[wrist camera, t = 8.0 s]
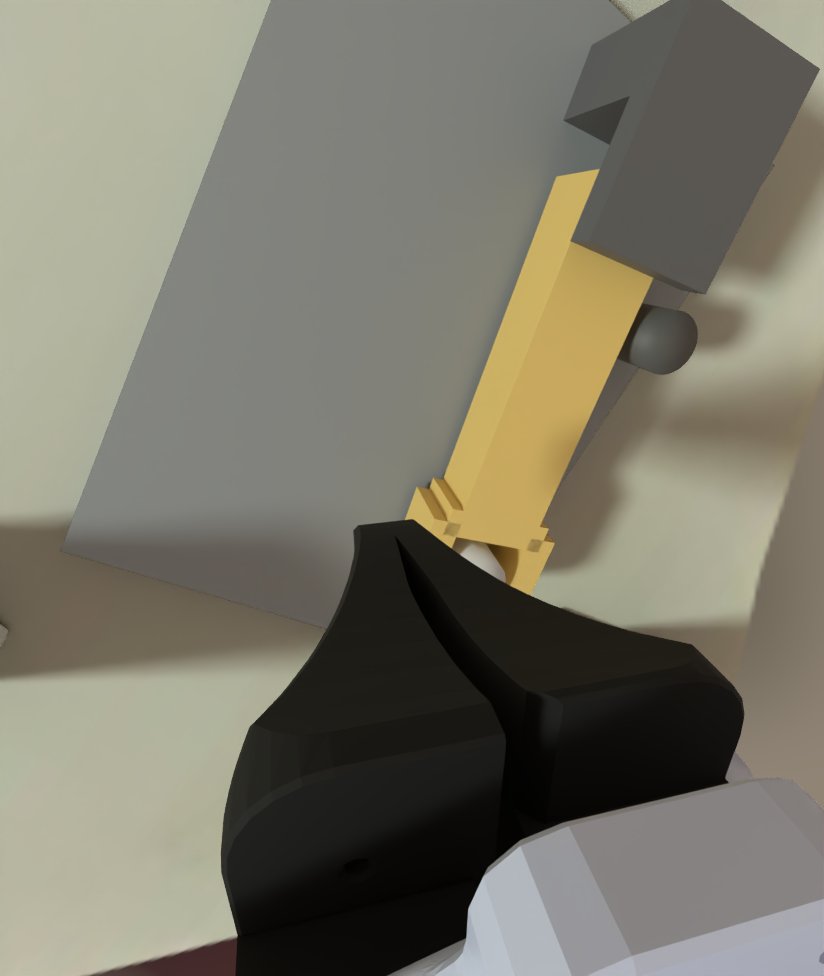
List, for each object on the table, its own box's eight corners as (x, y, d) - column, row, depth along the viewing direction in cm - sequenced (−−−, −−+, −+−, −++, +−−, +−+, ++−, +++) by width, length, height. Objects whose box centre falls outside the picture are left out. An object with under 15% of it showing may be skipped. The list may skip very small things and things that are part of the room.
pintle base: (752, 168, 20) (910, 148, 15) (435, 647, 26) (473, 746, 21) (358, -213, 14) (406, -465, 9) (69, 536, 20) (2, 638, 15)
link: (487, 597, 24) (510, 637, 21) (382, 581, 22) (395, 622, 20) (653, 221, 18) (708, 220, 16) (531, 165, 17) (572, 155, 14)
